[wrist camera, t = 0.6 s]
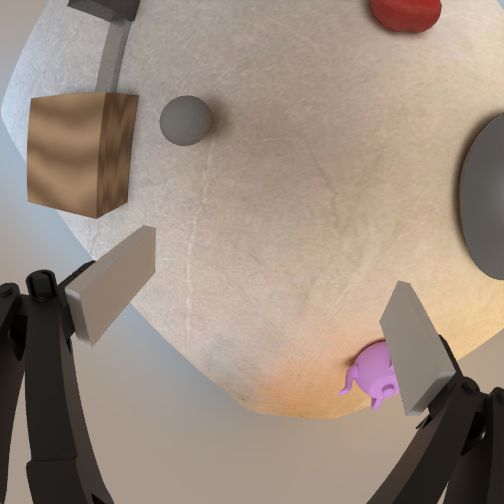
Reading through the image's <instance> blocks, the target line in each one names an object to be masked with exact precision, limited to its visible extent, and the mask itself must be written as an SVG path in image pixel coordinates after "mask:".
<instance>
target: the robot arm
mask: <svg viewBox="0 0 504 504" xmlns="http://www.w3.org/2000/svg"><path fill="white" fill-rule="evenodd" d="M155 245H156V228H154V227H149V226H145V225H143V226H142V227H140V228H139V229H138V230H136V231H135V232H134V233H132V234H131V235H130V236H128V237H127V238H126V239H124V240H123V241H122V242H120V243H119V244H118V245H117V246H115V247H114V248H113V249H111V250H110V251H109V252H108V253H106V254H105V255H104V256H102V257H101V258H100V259H99V260H97V261H94V260H93V261H90V262H88V263H85V264H84V265H82V266H81V267H80V268H78V270H77V271H75V272H73V273H72V275H70V276H69V277H67V278H66V279H65V280H64V281H62V282H61V283H60V284H59V285H58V286H57V283H56V278H55V274H54V273H53V272H52V271H50V270H38V271H35V272H33V273H31V274H30V275H29V276H27V278H26V284H27V288H28V292H29V295H24V294H20V290H19V287H18V285H17V284H15V283H5V284H2V285H1V286H0V504H4V501H5V496H6V491H7V480H8V463H9V453H10V443H11V435H12V428H13V422H14V416H15V411H16V406H17V401H18V396H19V391H20V387H21V383H22V379H23V375H24V371H25V400H26V415H27V425H28V435H29V442H30V449H31V461H29V462H28V463H27V465H26V472H27V478H28V483H29V488H30V492H31V496H32V500H33V504H114V502H113V500H112V498H111V496H110V494H109V492H108V490H107V489H106V487H105V485H104V482H103V480H102V477H101V474H100V471H99V468H98V465H97V462H96V459H95V456H94V453H93V449H92V445H91V442H90V439H89V435H88V431H87V427H86V423H85V418H84V414H83V410H82V405H81V400H80V395H79V390H78V384H77V378H76V371H75V365H74V357H73V349H72V342H71V338H70V337H71V335H72V334H73V333H74V332H75V333H76V336H77V340H78V342H80V343H82V344H84V345H86V346H89V347H91V348H92V347H93V346H94V345H95V343H96V342H97V341H98V340H99V338H100V337H101V336H102V335H103V333H104V332H105V331H106V330H107V328H108V327H109V326H110V325H111V323H112V322H113V321H114V320H115V319H116V318H117V316H118V315H119V314H120V313H121V312H122V310H123V309H124V308H125V307H126V306H127V305H128V303H129V302H130V301H131V300H132V299H133V297H134V296H135V295H136V294H137V293H138V292H139V290H140V289H141V288H142V287H143V286H144V285H145V284H146V282H147V281H148V280H149V279H150V278H151V277H152V276H153V274H154V273H155ZM379 322H380V325H381V328H382V331H383V334H384V337H385V340H386V344H387V347H388V350H389V354H390V357H391V360H392V364H393V368H394V371H395V375H396V378H397V382H398V386H399V390H400V394H401V397H402V402H403V406H404V410H405V415H420V414H421V413H422V412H423V411H424V410H425V409H426V408H427V407H428V410H429V415H428V416H427V417H426V418H425V419H424V420H423V421H422V422H421V423H420V424H419V425H418V426H417V427H416V429H418V428H419V427H420V428H419V430H418V431H417V433H416V435H415V436H414V438H413V440H412V442H411V443H410V444H409V446H408V448H407V449H406V451H405V452H404V454H403V455H402V457H401V459H400V460H399V461H398V463H397V464H396V466H395V467H394V469H393V470H392V471H391V473H390V474H389V475H388V477H387V478H386V480H385V481H384V482H383V484H382V485H381V486H380V487H379V489H378V490H377V491H376V492H375V494H374V495H373V496H372V498H371V499H370V500H369V501H368V502H367V504H437V502H438V501H439V499H440V497H441V495H442V493H443V491H444V489H445V487H446V485H447V483H448V486H447V490H446V494H445V498H444V502H443V504H504V389H502V388H500V387H496V388H494V389H493V390H492V392H491V393H490V394H486V393H482V392H480V389H479V386H478V385H477V384H476V382H475V381H473V380H472V379H471V378H469V377H464V376H463V374H462V372H461V370H460V368H459V366H458V364H457V361H456V359H455V357H454V355H453V353H452V351H451V349H450V347H449V345H448V343H447V342H446V340H445V339H444V338H443V337H442V336H441V335H438V334H437V332H436V330H435V328H434V326H433V324H432V322H431V320H430V318H429V316H428V315H427V313H426V311H425V309H424V307H423V305H422V304H421V302H420V300H419V298H418V297H417V295H416V293H415V291H414V290H413V288H412V286H411V285H410V283H406V282H402V281H398V282H397V284H396V287H395V289H394V291H393V294H392V296H391V298H390V300H389V302H388V304H387V307H386V309H385V311H384V313H383V315H382V317H381V319H380V321H379ZM484 433H485V435H484V437H483V439H482V435H483V434H484ZM448 481H449V482H448Z"/></svg>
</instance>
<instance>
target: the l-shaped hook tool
mask: <svg viewBox="0 0 504 504" xmlns="http://www.w3.org/2000/svg"><path fill="white" fill-rule="evenodd" d="M139 3H140V0H69V3H68V5H67V6H68V7H71V8H74V9H77V10H80V11H83V12H86V13H88V14H91V15H94V16H96V17H99V18H101V19H104V20H106V21H109V22H111V23H110V27H109V31H108V34H107V38H106V42H105V46H104V50H103V55H102V59H101V64H100V69H99V74H98V79H97V85H96V91H95V93H97V92H109V93H116V87H117V82H118V76H119V71H120V66H121V61H122V57H123V53H124V48H125V44H126V40H127V36H128V32H129V29H130V25H131V21H134V20H135V16H136V13H137V10H138V6H139Z"/></svg>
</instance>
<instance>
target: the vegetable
mask: <svg viewBox="0 0 504 504" xmlns="http://www.w3.org/2000/svg"><path fill="white" fill-rule="evenodd" d="M370 5H371V10H372V12H373V13H374V15H375V17H376V18H377V19H378V20H379V21H380V22H381V23H382V24H383V25H384V26H385V27H387V28H389V29H391V30H395V31H403V30H409V31H412V32H416V33H417V32H423V31H425V30H427V29H429V28H431V27H432V26H433V25H434V24H435V23H436V22H437V20H438V19H439V16H440V13H441V8H442V5H441V2H440V0H370Z"/></svg>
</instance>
